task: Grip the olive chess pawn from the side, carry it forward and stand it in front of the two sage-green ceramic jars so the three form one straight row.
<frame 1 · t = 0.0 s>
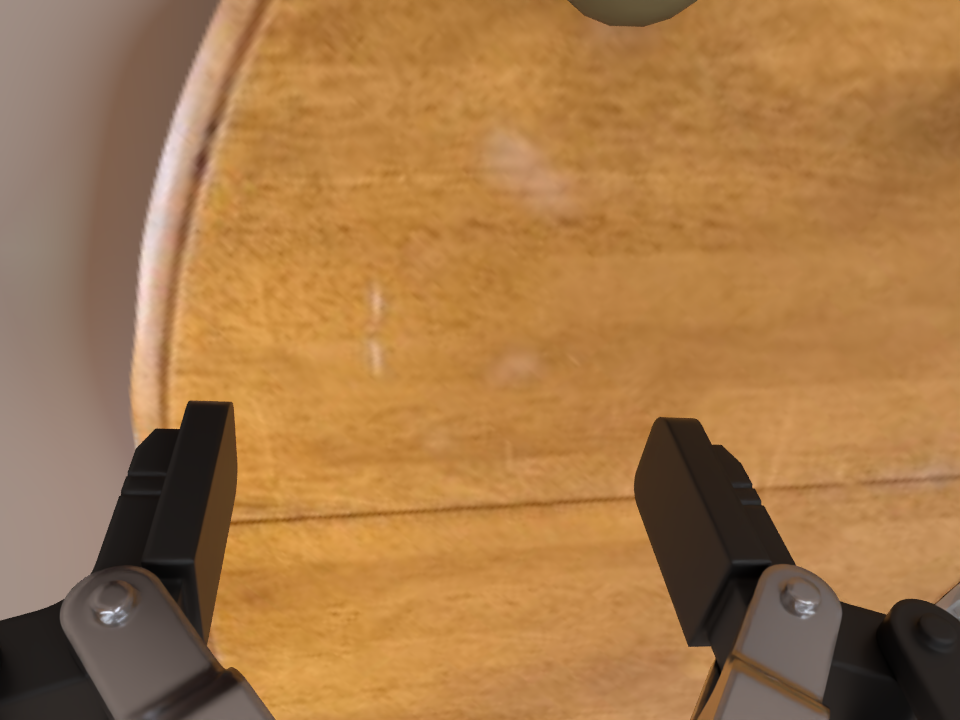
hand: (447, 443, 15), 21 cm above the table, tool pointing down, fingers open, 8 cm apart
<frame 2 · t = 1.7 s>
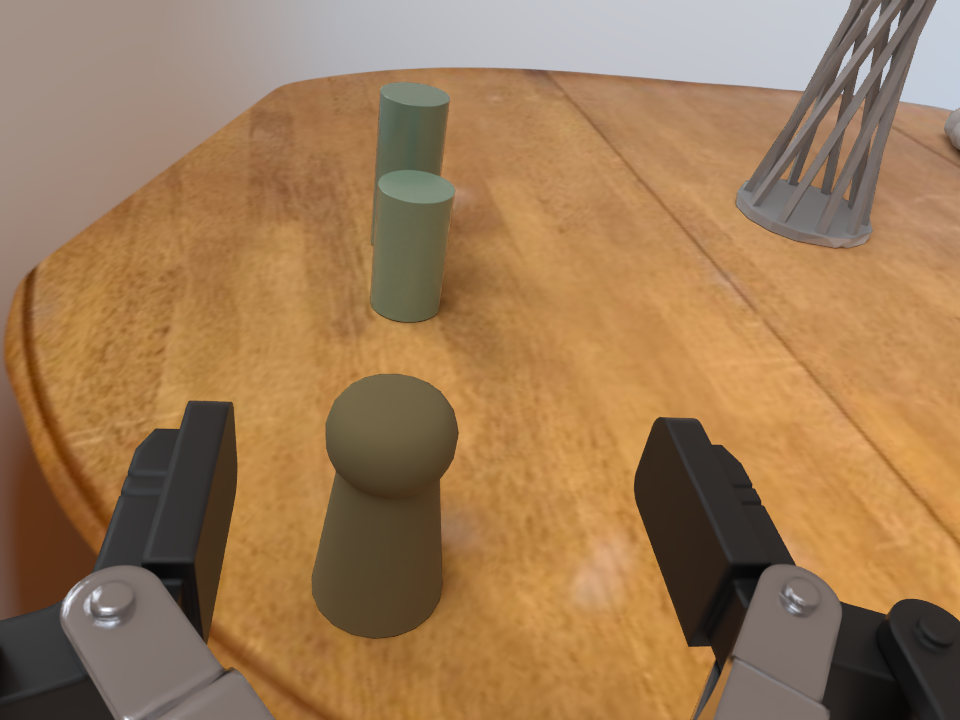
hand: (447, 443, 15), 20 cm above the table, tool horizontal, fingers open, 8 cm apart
grey lattice tower: (800, 217, 79), on the table
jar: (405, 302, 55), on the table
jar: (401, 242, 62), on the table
olive chess pawn: (377, 583, 36), on the table
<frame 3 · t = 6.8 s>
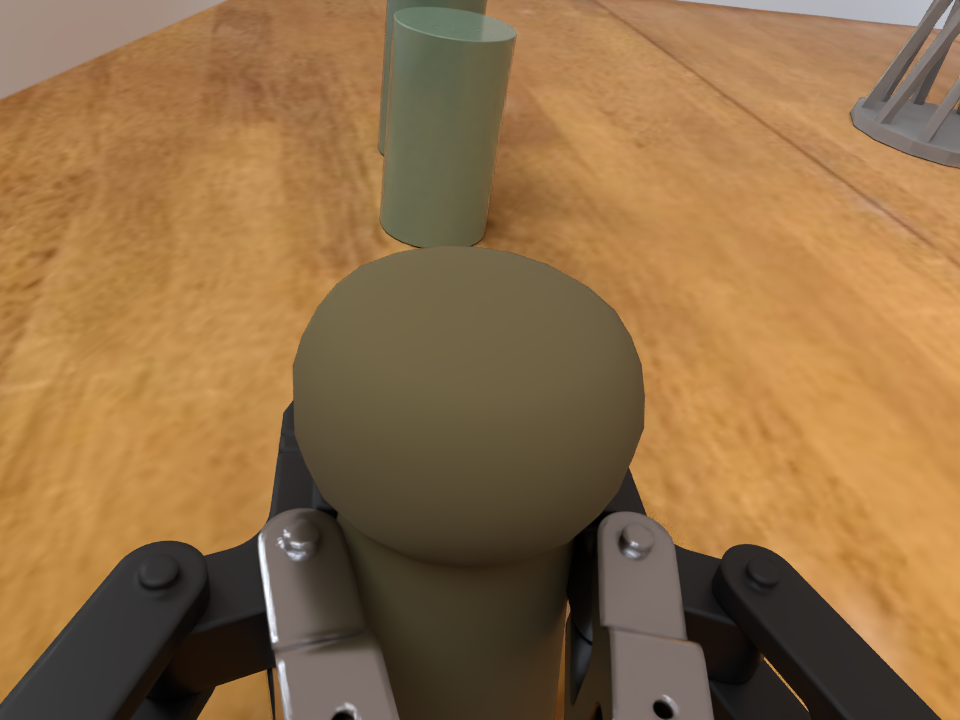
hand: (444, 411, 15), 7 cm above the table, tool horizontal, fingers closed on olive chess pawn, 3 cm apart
grey lattice tower: (936, 141, 60), on the table
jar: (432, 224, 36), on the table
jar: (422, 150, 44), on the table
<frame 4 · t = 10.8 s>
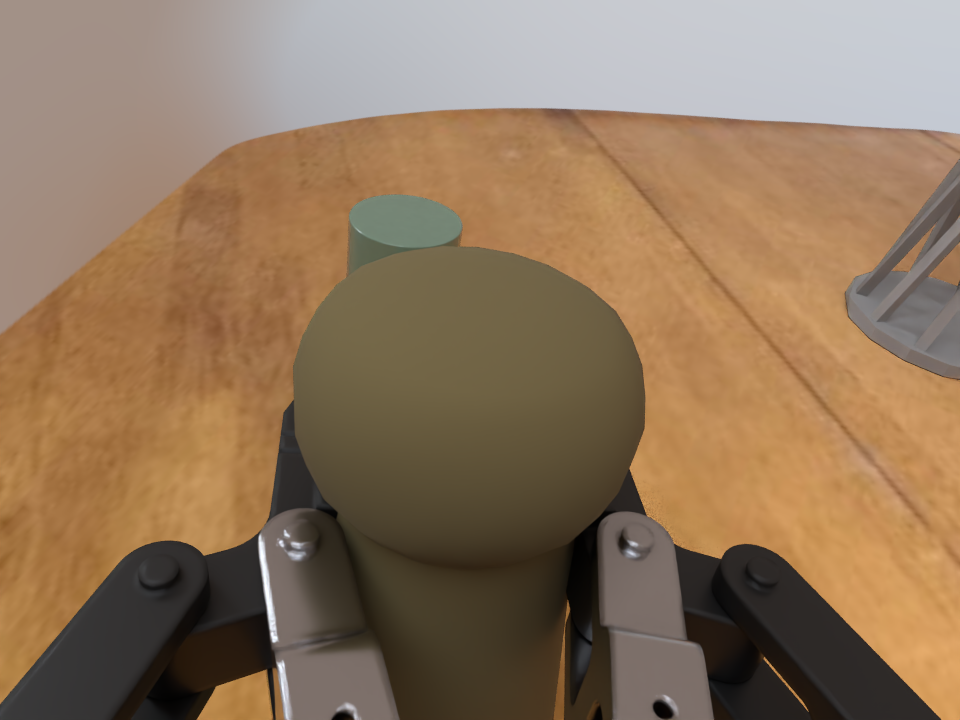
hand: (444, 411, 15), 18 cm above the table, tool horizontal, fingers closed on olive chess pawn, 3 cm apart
grey lattice tower: (934, 330, 58), on the table
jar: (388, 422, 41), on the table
when the fingers open (7 cm above the table, at t = 14.6 s): olive chess pawn stays where it is, on the table.
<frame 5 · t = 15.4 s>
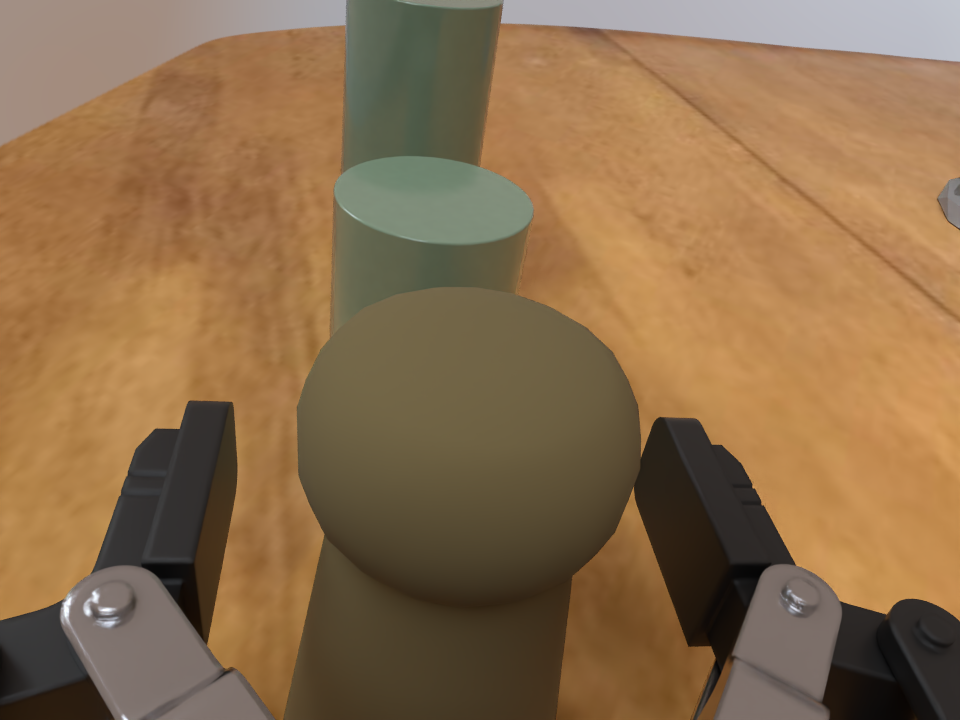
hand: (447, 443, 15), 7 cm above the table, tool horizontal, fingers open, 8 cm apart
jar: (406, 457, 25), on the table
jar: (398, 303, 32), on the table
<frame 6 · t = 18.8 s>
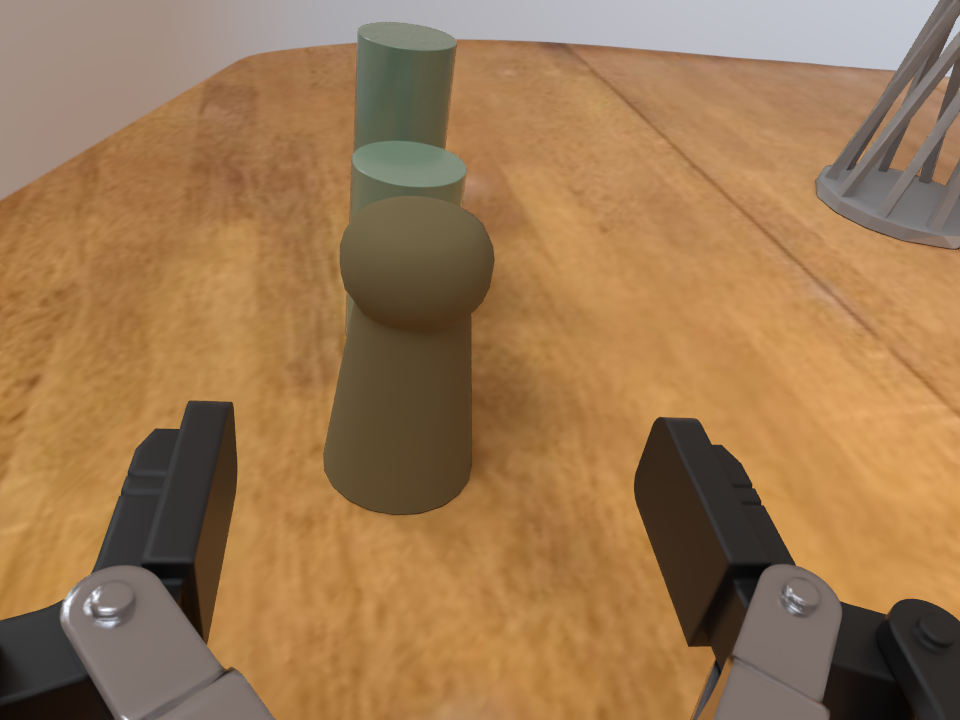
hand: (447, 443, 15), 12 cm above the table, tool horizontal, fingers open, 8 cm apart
grey lattice tower: (897, 210, 62), on the table
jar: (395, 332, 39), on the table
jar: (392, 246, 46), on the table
olive chess pawn: (398, 462, 32), on the table
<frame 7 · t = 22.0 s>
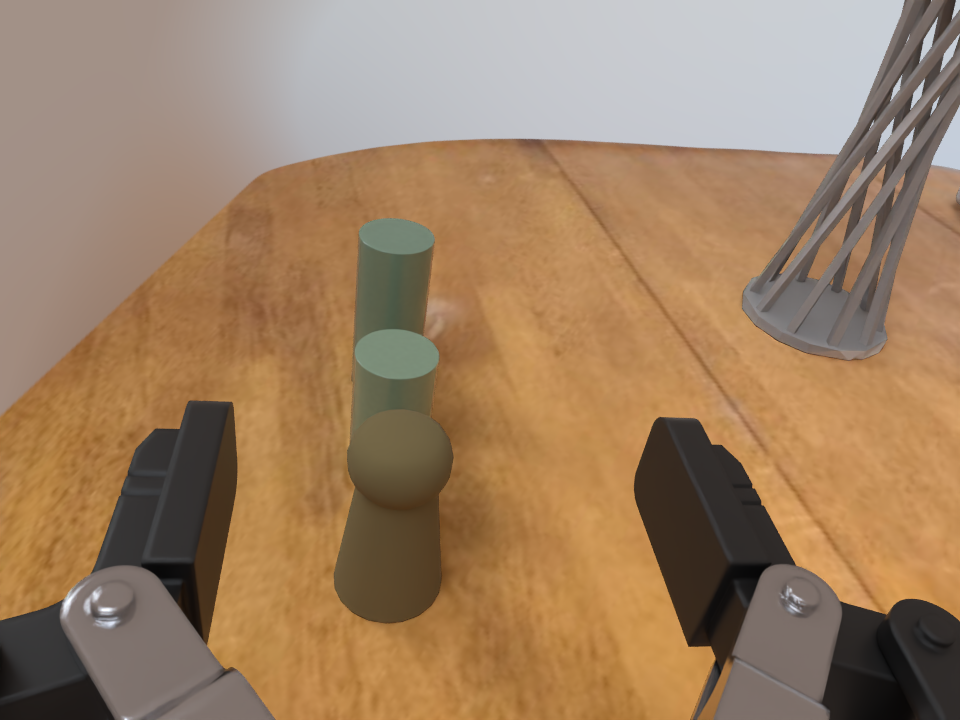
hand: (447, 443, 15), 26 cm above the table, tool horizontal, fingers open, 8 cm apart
grey lattice tower: (809, 319, 75), on the table
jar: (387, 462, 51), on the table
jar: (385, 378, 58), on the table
olive chess pawn: (387, 578, 44), on the table
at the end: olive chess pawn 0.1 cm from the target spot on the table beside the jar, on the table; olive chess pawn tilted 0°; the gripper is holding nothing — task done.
